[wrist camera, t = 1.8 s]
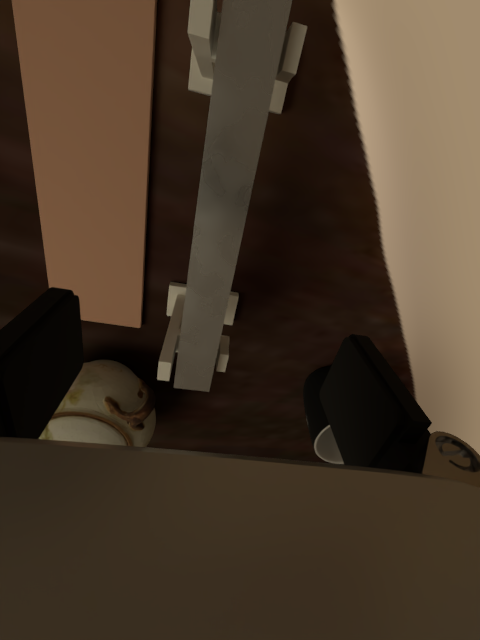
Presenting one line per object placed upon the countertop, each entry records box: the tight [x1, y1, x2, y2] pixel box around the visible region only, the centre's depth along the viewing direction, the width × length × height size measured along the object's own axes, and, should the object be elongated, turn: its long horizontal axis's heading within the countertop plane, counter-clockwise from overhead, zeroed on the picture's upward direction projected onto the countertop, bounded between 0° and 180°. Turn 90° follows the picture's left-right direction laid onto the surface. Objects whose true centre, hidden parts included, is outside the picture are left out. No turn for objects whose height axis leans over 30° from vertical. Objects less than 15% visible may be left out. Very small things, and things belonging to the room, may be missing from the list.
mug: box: [303, 367, 344, 464], centre depth 40 cm, size 12×9×10 cm
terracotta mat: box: [12, 0, 157, 328], centre depth 28 cm, size 31×10×1 cm, turn 168°
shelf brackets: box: [157, 0, 307, 381], centre depth 25 cm, size 26×8×13 cm, turn 168°
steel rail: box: [174, 0, 292, 392], centre depth 21 cm, size 27×3×3 cm, turn 168°
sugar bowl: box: [39, 360, 156, 447], centre depth 36 cm, size 20×15×15 cm
